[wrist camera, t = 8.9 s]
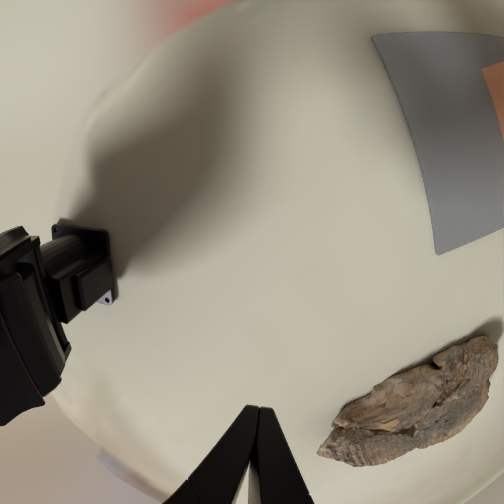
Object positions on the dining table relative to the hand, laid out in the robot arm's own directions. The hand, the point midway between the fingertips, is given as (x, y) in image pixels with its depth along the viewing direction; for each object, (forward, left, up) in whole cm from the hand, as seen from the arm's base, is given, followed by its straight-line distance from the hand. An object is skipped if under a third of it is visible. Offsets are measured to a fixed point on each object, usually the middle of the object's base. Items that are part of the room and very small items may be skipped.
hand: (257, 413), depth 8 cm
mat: (+18, +15, -12) cm, 26 cm away
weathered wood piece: (+16, -14, -13) cm, 25 cm away
